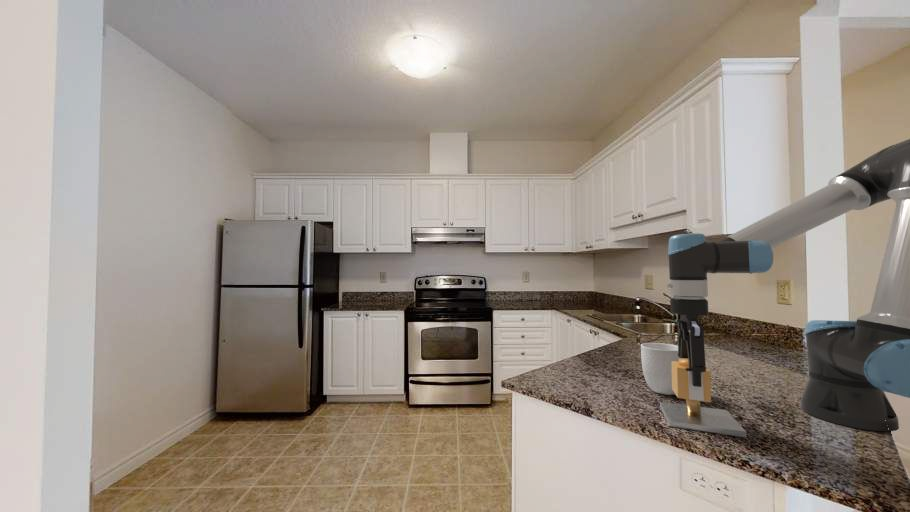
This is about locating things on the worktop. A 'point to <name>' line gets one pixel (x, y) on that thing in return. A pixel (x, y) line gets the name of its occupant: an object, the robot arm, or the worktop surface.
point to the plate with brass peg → (701, 418)
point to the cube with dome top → (682, 380)
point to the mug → (659, 366)
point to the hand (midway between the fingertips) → (692, 394)
